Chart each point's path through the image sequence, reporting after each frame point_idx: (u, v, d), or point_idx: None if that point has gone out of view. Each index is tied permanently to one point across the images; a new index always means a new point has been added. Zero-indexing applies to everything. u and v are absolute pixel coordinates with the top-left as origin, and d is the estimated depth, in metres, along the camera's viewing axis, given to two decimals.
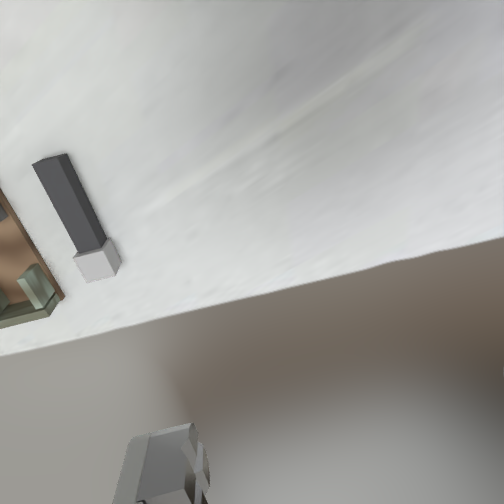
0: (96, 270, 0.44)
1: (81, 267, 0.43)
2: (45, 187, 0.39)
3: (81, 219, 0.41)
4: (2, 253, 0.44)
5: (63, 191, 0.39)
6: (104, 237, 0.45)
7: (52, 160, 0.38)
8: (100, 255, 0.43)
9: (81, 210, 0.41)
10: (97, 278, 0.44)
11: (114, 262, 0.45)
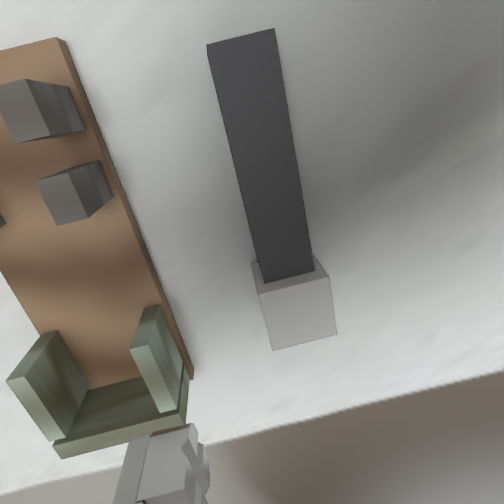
0: (302, 321, 0.19)
1: (271, 316, 0.18)
2: (226, 113, 0.15)
3: (290, 201, 0.17)
4: (88, 283, 0.20)
5: (267, 126, 0.15)
6: None
7: (260, 34, 0.14)
8: (320, 288, 0.18)
9: (296, 178, 0.17)
10: (298, 340, 0.19)
11: None
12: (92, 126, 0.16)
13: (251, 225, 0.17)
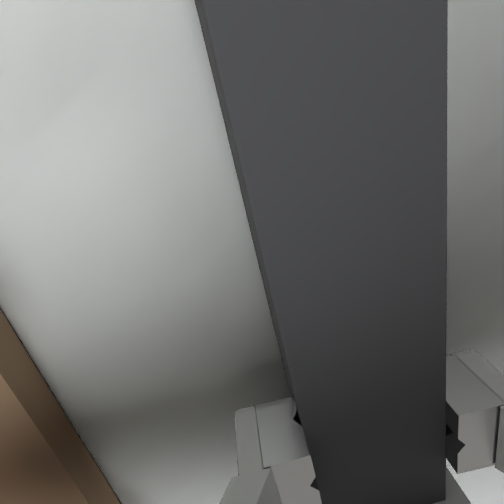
0: None
1: None
2: (248, 145, 0.04)
3: (412, 370, 0.06)
4: None
5: (375, 183, 0.05)
6: None
7: None
8: None
9: (437, 317, 0.06)
10: None
11: None
12: None
13: (306, 428, 0.07)
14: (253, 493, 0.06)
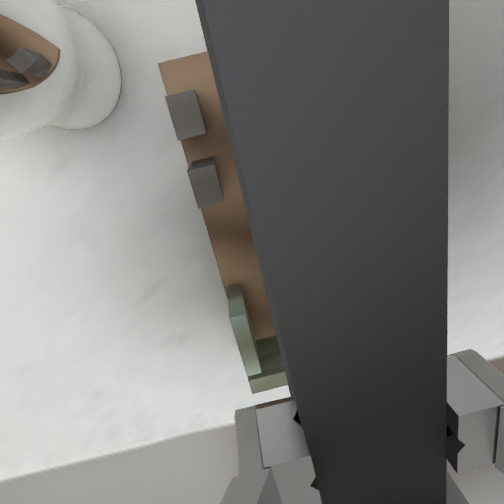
0: None
1: None
2: (250, 152, 0.05)
3: (413, 375, 0.06)
4: None
5: (377, 190, 0.05)
6: None
7: None
8: None
9: (438, 322, 0.06)
10: None
11: None
12: None
13: (307, 432, 0.07)
14: (253, 493, 0.06)
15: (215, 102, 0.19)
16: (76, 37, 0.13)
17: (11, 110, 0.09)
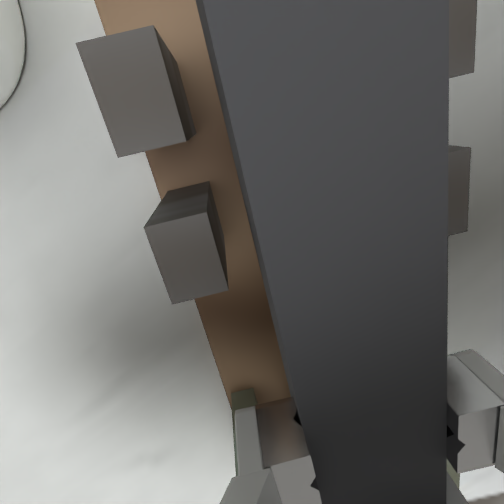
0: None
1: None
2: (251, 154, 0.05)
3: (413, 376, 0.06)
4: None
5: (377, 191, 0.05)
6: None
7: None
8: None
9: (438, 324, 0.06)
10: None
11: None
12: None
13: (307, 433, 0.07)
14: (253, 493, 0.06)
15: (212, 77, 0.10)
16: None
17: None
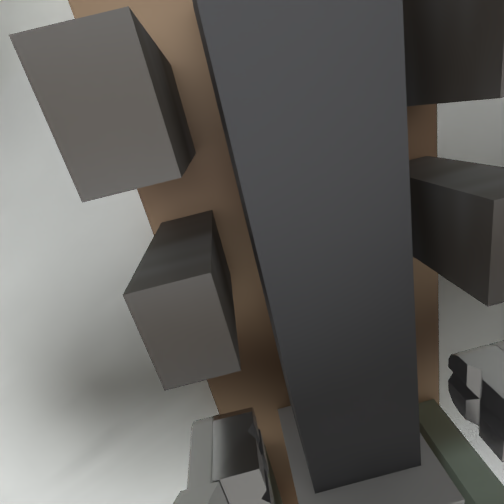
0: None
1: None
2: (242, 148, 0.05)
3: (387, 344, 0.07)
4: None
5: (349, 181, 0.06)
6: None
7: None
8: None
9: (406, 296, 0.07)
10: None
11: None
12: None
13: (294, 395, 0.08)
14: None
15: None
16: None
17: None
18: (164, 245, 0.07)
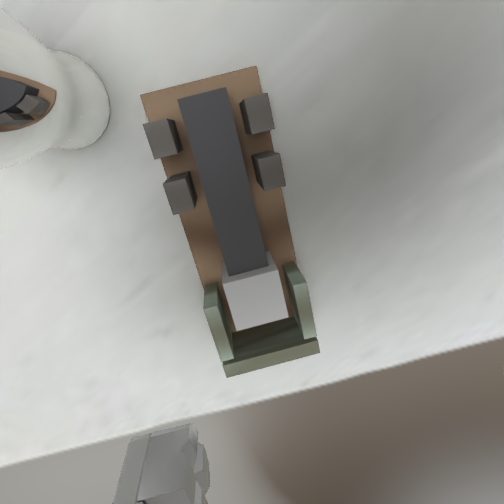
0: (259, 306, 0.24)
1: (233, 301, 0.23)
2: (193, 147, 0.20)
3: (245, 211, 0.22)
4: None
5: (224, 156, 0.21)
6: None
7: (216, 91, 0.19)
8: (271, 279, 0.23)
9: (248, 193, 0.22)
10: (257, 322, 0.24)
11: None
12: None
13: (216, 230, 0.22)
14: None
15: None
16: (70, 80, 0.17)
17: (20, 143, 0.13)
18: (172, 178, 0.22)
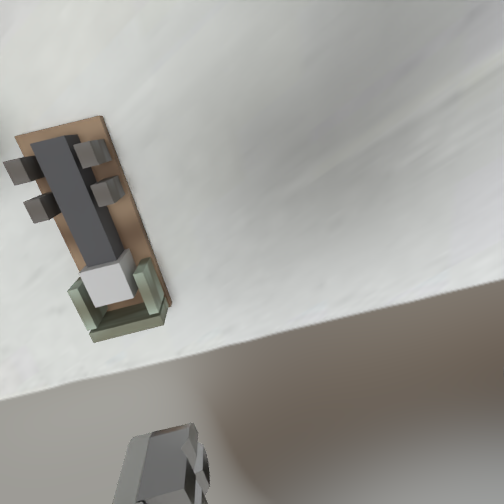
0: (109, 289, 0.33)
1: (89, 286, 0.32)
2: (46, 176, 0.29)
3: (92, 220, 0.31)
4: None
5: (70, 182, 0.29)
6: (121, 247, 0.34)
7: (57, 138, 0.28)
8: (115, 269, 0.32)
9: (93, 208, 0.30)
10: (110, 301, 0.33)
11: (133, 280, 0.34)
12: (114, 158, 0.32)
13: (72, 234, 0.31)
14: None
15: None
16: None
17: None
18: (38, 196, 0.30)
